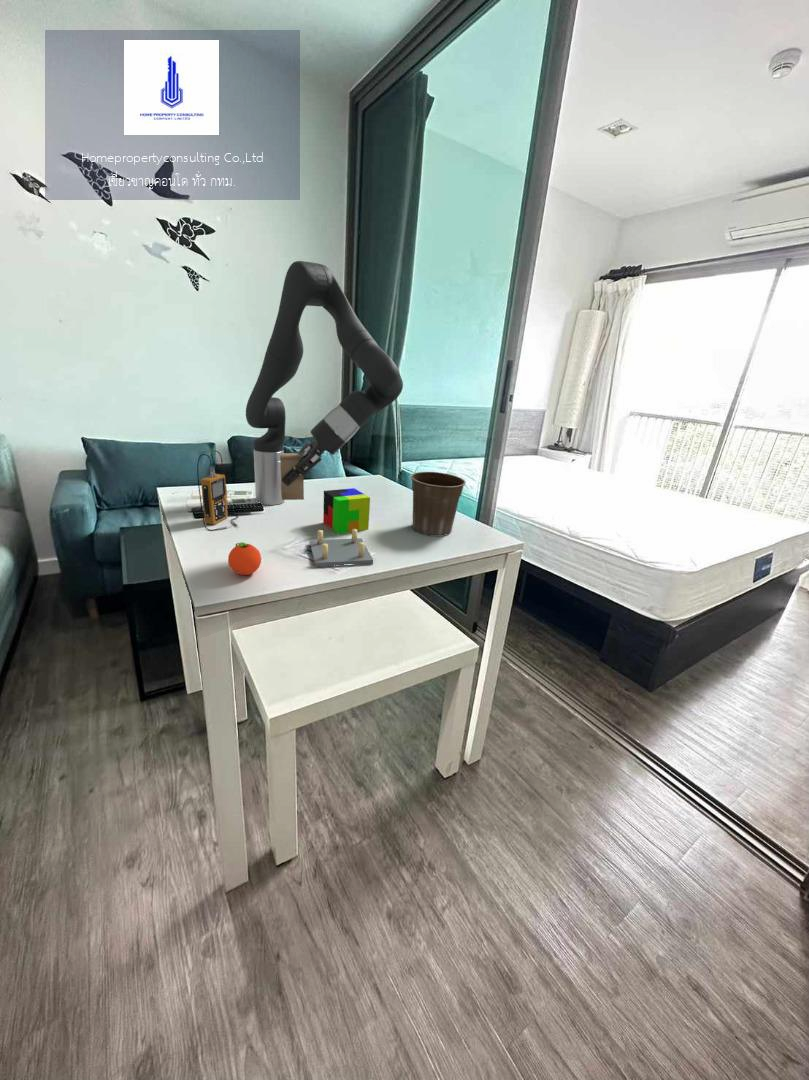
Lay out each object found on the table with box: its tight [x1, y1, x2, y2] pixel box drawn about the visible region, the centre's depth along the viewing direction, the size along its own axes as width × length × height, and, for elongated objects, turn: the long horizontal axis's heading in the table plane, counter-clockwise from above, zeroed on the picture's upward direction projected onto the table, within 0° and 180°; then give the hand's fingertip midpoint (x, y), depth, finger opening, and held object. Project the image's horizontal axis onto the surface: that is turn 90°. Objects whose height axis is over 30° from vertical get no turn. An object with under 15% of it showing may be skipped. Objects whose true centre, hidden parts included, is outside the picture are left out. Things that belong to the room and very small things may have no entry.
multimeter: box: [196, 450, 240, 531], centre depth 121 cm, size 15×10×20 cm
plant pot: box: [410, 471, 467, 536], centre depth 131 cm, size 16×16×16 cm
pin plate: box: [308, 529, 374, 568], centre depth 111 cm, size 14×14×5 cm
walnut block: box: [280, 452, 305, 501], centre depth 104 cm, size 5×5×10 cm
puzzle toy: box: [322, 487, 371, 535], centre depth 129 cm, size 10×10×10 cm
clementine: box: [227, 542, 262, 576], centre depth 97 cm, size 8×7×7 cm
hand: (284, 479), depth 103 cm, fingers closed on walnut block, 5 cm apart
